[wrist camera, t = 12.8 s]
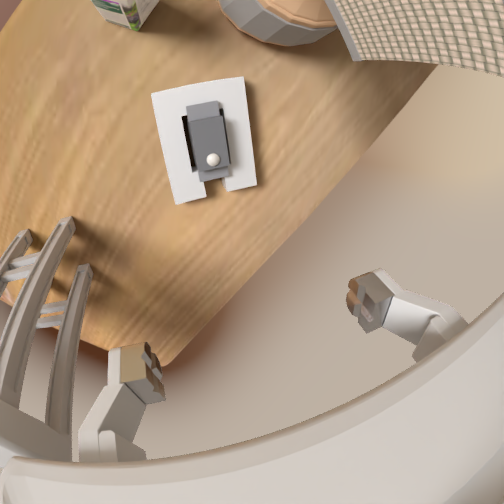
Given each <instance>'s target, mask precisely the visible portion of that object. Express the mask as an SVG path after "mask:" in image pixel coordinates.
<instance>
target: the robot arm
mask: <svg viewBox="0 0 504 504" xmlns="http://www.w3.org/2000/svg"><path fill="white" fill-rule="evenodd" d="M348 287H349V288H350V291H349V292H348V293H347V297H346V302H347V307H348V309H349V311H350V312H351V314H352V315H354V316H356V317H358V323H359V324H360V325H361V327H362V328H363V330H364V331H365V332H366V333H369V332H371V331H373V330H375V329H377V328H380V327H382V326H383V328H385V329H387V330H389V331H390V332H392V333H394V334H396V335H398V336H400V337H402V338H404V339H406V340H407V341H409V342H412V343H413V344H415V345H417V347H416V348H415V350H414V352H413V354H412V357H413V358H414V360H415V361H416V362H417V363H416V364H415V365H413V366H411V367H410V368H408V369H406V370H405V371H403V372H402V373H400V374H398V375H397V376H395V377H393V378H392V379H390V380H388V381H386V382H385V383H383V384H381V385H380V386H378V387H376V388H374V389H372V390H370V391H369V392H367V393H365V394H363V395H361V396H359V397H357V398H355V399H353V400H351V401H349V402H347V403H345V404H343V405H340V406H338V407H336V408H334V409H332V410H330V411H327V412H325V413H323V414H320V415H318V416H316V417H313V418H311V419H308V420H306V421H303V422H301V423H298V424H295V425H293V426H290V427H287V428H285V429H282V430H279V431H276V432H273V433H270V434H267V435H264V436H261V437H257V438H254V439H251V440H247V441H244V442H240V443H236V444H232V445H229V446H224V447H220V448H216V449H212V450H207V451H202V452H197V453H192V454H186V455H180V456H174V457H167V458H159V459H151V460H147V459H146V454H145V451H144V450H143V449H141V448H140V447H138V446H136V445H134V444H133V443H132V442H133V439H134V437H135V434H136V432H137V429H138V426H139V424H140V421H141V419H142V416H143V414H144V411H145V408H146V404H152V403H156V402H161V401H165V400H166V398H165V391H164V385H163V384H162V383H161V382H160V380H161V378H162V369H161V366H160V362H159V360H158V358H157V356H156V355H155V354H154V353H152V352H151V347H150V346H149V344H148V343H147V342H143V343H138V344H133V345H128V346H123V347H118V348H113V349H110V351H109V357H108V358H109V359H108V386H104V388H103V390H102V391H101V393H100V395H99V396H98V398H97V400H96V401H95V403H94V405H93V407H92V408H91V410H90V412H89V413H88V415H87V417H86V419H85V421H84V422H83V424H82V426H81V427H80V429H79V431H78V442H79V462H65V461H52V460H42V459H34V458H28V457H22V456H13V457H11V458H10V460H9V461H8V462H7V464H6V465H5V467H4V469H3V471H2V472H1V474H0V504H504V293H503V294H502V295H501V296H500V297H499V298H498V299H496V300H495V301H494V302H493V303H492V304H491V305H490V306H489V307H488V308H487V309H486V310H485V311H484V312H483V313H481V314H480V315H479V316H478V317H477V318H476V319H474V320H473V321H472V322H471V323H470V324H468V323H467V322H466V321H465V320H464V319H463V318H462V317H461V315H460V314H459V313H458V312H457V311H456V310H455V309H454V308H453V307H452V306H451V305H448V304H445V303H443V302H440V301H437V300H434V299H432V298H429V297H426V296H423V295H420V294H417V293H415V292H412V291H409V290H405V291H404V290H403V289H402V288H401V287H400V286H399V285H398V284H397V283H396V282H395V281H394V280H393V279H392V278H391V277H390V276H389V275H388V274H387V273H386V272H385V271H384V270H383V269H381V268H379V269H376V270H374V271H371V272H368V273H365V274H363V275H360V276H358V277H355V278H353V279H351V280H350V281H349V284H348Z"/></svg>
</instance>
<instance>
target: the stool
mask: <svg viewBox="0 0 504 504" xmlns="http://www.w3.org/2000/svg"><path fill="white" fill-rule="evenodd" d="M75 230H76V227H75V224H74V221H73V218H72V216H70V217H66V218H62V219H60V221H59V222H58V224H57V225H56V227H55V228H54V230H53V232H52V233H51V235H50V236H49V238H48V240H47V241H46V243H45V245H44V247H43V248H42V250H41V252H37V253H33V254H30V255H26V256H24V254H25V253H26V251H27V249H28V248H29V246H30V245H31V243H32V242H33V239H32V237H31V234H30V231H29V229H26V230H23V231H20V232H19V233H18V234H17V236H16V237H15V238H14V240H13V241H12V242H11V244H10V245H9V246H8V248H7V249H6V251H5V252H4V254H3V255H2V257H1V258H0V297H1V295H2V293H3V291H4V290H5V288H6V286H7V284H8V282H10V281H14V280H18V279H22V278H26V277H27V278H26V280H25V282H24V284H23V286H22V288H21V290H20V292H19V295H18V297H17V299H16V301H15V304H14V306H13V309H12V311H11V313H10V315H9V318H8V320H7V323H6V326H5V328H4V331H3V334H2V337H1V339H0V467H1V468H3V469H4V467H5V465H6V464H7V462H8V461H9V460H10V458H11V457H13V456H22V457H28V458H34V459H42V460H52V461H65V462H72V441H71V439H72V438H71V437H72V435H71V433H72V432H71V431H72V402H73V388H74V376H75V368H76V360H77V352H78V345H79V339H80V333H81V328H82V322H83V317H84V312H85V307H86V302H87V298H88V294H89V289H90V285H91V281H92V277H93V272H92V269H91V267H90V265H89V263H88V264H83V265H78V268H77V271H76V274H75V277H74V280H73V283H72V286H71V289H70V292H69V296H68V299H67V300H65V301H60V302H54V303H49V304H45V301H46V298H47V295H48V293H49V290H50V288H51V285H52V280H53V277H54V275H55V272H56V270H57V268H58V266H59V263H60V261H61V259H62V257H63V254H64V252H65V250H66V248H67V246H68V244H69V242H70V240H71V238H72V236H73V234H74V232H75ZM31 264H33V265H31ZM27 265H29V266H27ZM23 266H25V267H23ZM19 267H22V268H19ZM16 268H18V269H16ZM59 311H64V313H63V314H62V315H56V316H50V317H44V318H40V315H41V314H47V313H53V312H59ZM58 325H60V329H59V333H58V338H57V342H56V347H55V352H54V357H53V362H52V368H51V374H50V381H49V387H48V396H47V404H46V415H45V423H43V422H42V421H40V420H38V419H35V418H34V417H32V416H30V415H28V414H26V413H23V412H22V411H20V410H19V403H20V396H21V391H22V385H23V380H24V375H25V370H26V365H27V361H28V357H29V353H30V349H31V346H32V341H33V338H34V335H35V331H36V329H37V328H44V327H52V326H58Z"/></svg>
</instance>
